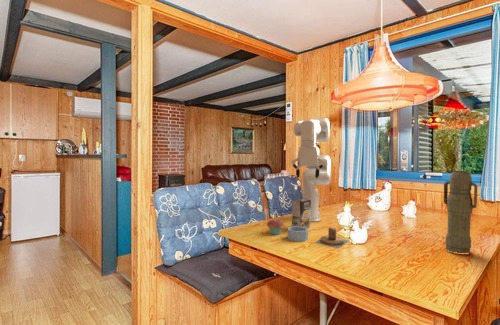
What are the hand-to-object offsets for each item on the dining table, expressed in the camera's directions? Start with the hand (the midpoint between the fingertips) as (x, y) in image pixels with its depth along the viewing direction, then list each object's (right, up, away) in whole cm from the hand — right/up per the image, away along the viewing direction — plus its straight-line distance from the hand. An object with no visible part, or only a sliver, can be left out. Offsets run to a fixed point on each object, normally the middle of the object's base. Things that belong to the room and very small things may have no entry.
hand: (307, 177), depth 150 cm
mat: (+9, -30, -13) cm, 34 cm away
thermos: (+60, -31, -24) cm, 72 cm away
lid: (+9, -30, -13) cm, 34 cm away
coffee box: (-1, -29, +10) cm, 31 cm away
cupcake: (-17, -29, +1) cm, 34 cm away
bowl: (-6, -30, -9) cm, 31 cm away
